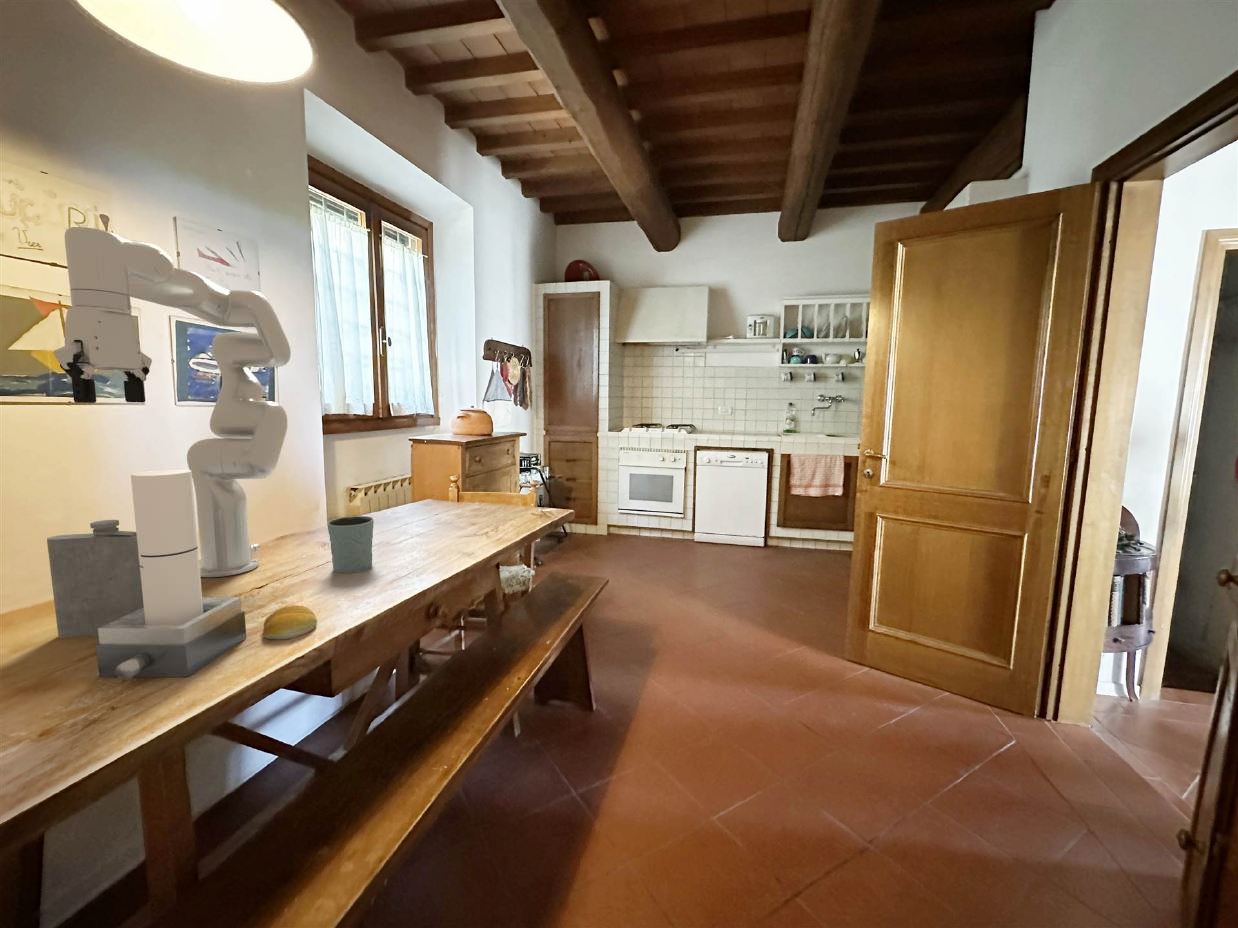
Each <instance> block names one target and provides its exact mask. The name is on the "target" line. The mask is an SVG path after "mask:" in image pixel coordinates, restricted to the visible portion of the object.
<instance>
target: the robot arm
mask: <svg viewBox="0 0 1238 928" xmlns="http://www.w3.org/2000/svg"><path fill="white" fill-rule="evenodd" d="M64 244H65V245H64V246H65V254H66V264H67V273H68V274H67V275H68V282H69V290H70V291H69V292H70V302H71V308H70V307H69V308H67V311H66V316H65V322H64V323H65V324H64V345H63V346H62V347H60V348H57V349H56V350H54V351H53V355H54V357H55V358H56V360H57V362H58V363H59V367H60V368H61V369H62V370H63V371H64V373H66V377H67V379H70V380H71V386H72V387H71V388H72V395H73V396H72V397H73V402H75V404H76V403H77V404H78V403H79V404H95V403H96V402H97V393H96V382H95V379H94V378H92V379H91V377H92V376H93V375H94V373H95V371H96V370H105V371H106V370H107V371H115V370H119V371H120V373H121V374H122V375H123V377H125V379H126V380H123V389H124V390H123V391H124V398H125V400H124V401H125V402H126V403H143V404H144V403H145V402H146V393H145V383H144V382H146V381H147V380H148V379H147V376H148V375H149V373H150V368H151V366H152V363H153V359H152V358H151V357H149V356H148V355H146V354H145V353H143V352H142V351H141V343H140V340H139V339H140V338H139V334H138V329H137V325H136V321H135V319H134V316H133V314H132V303H131V298H134V299H137V300H141V301H146V302H150V303H154V304H157V305H160V306H164V307H168V308H174V309H179V310H181V311H183V312H186V313H188V314H190V315H193V316H195V317H196V318H199V319H201V320H204V321H206V322H208V323H210V324H213V325H215V326H218V327H219V326H220V327H229V328H231V327H234V328H240V327H241V328H255V329H256V331H257V332H250V331H249V332H248V331H247V332H246V331H243V332H242V331H230V332H229V331H228V332H221V333H219V334H217V335H216V336H214V337H213V340H212V343H211V352H212V355H213V357H214V359H215V362H216V365H217V367H218V370H219V372H220V375H221V378H222V385H221V388H220V389H221V390H220V392H219V394H218V396H217V400H216V402H215V404H214V407H213V410H212V413H211V415H210V419H209V428H210V431H211V433H213V434H214V435H215V436H217V438H215V437H214V438H205V439H201V440H198V441H196V442H194V443H193V444H191V446H190V447H189V449H188V450H187V454H186V461H187V466H188V470H191V473H192V484H193V488H194V492H195V493H194V494H195V501H196V514H197V526H198V539H199V540H198V541H199V549H200V551H199V552H200V563H201V564H199V567H200V578H220V577H221V578H222V577H228V576H235V575H239V574H243V573H246V572H250V571H253V570H254V569H256V568H257V567H258V566H259V565H260V564H259V559H257V558H255V557H253V556H252V555H253V554H254V553H256V552H258V551H260V549H261V545H260V544H259V543H254V544H251V545H250V534H249V533H250V532H249V531H250V530H249V519H248V501H247V495H246V492H245V490H244V488H243V487H242V486H241V484H240V482H239V481H237V480H261V479H266V478H269V476H271V475H272V474H273V473H274V471H275V470H276V466H277V464H278V462H279V457H280V455H281V451H282V447H283V445H284V442H285V437H286V434H287V430H288V415H287V412H286V409H284V407H283V406H282V405H281V404H279V403H277V402H275V401H270V400H262V398H263V395H264V389H263V386H262V383H261V382H260V381H259V379H258V378H257V377H256V376H255V375H254V374H253V373H252V371H251V369H250V367H252V368H255V367H256V368H280V367H283V366H286V365H287V364H288V363H289V362H290V360H291V346H290V343H289V340H288V337H287V336H286V334H285V331H284V329H283V327H282V325H281V323H280V320H279V317H278V316H277V314H276V312H275V310H274V308H273V306H272V305H271V303H270V302H269V300H268V299H267V298H266V297H265V296H264V295H263V294H262V293H261V292H258V291H255V290H239V289H237V290H236V289H226V288H223V287H222V286H220V285H218V284H216V283H214V282H213V281H211V280H209V279H207V278H206V277H204V276H202V275H200V274H199V273H197V272H193V271H191V270H188V269H183V268H176V267H174V263H173V261H172V258H171V257H170V256H169V255H168V254H167V252H165V251H164V249H162V248H160V247H158V246H157V245H154V244H152V243H149V242H146V241H138V240H133V239H129V238H124V237H120V236H119V235H118V234H116V233H114V232H111V231H108V230H104V229H99V228H95V227H93V228H92V227H87V226H73V227H69V228H67V229H66V230H65V232H64ZM218 437H220V438H218Z"/></svg>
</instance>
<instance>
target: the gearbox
mask: <svg viewBox="0 0 1238 928" xmlns="http://www.w3.org/2000/svg"><path fill="white" fill-rule="evenodd" d="M202 602H203V614H202V615H200V616H198V617H196V618H194V619H192V620H190V621H189V622H187V623H185V624H183V625H146V624H145V614H144V608H141V609H139V610H137V611H135V612H133V613H130V614H128V615H126V616H124V617H122V618H119V619H117V620H115V621H113V622H111V623H108V624H106V625H104V626H102V627H100V628H98V634H99V635H98V641H99V642H98V643H97V644H96V645H95V650H96V659H97V660H96V661H97V670H98V677H99V678H119V679H121V680H124V681H125V680H130V679H131V678H189V677H191V676H192V675H194V674H195V673H196V672H198V671H200V670H202V669H203V668H205V667H206V666H207V665H209V664H210V663H212V662H213V661H215V660H216V659H217V658H220V657H221V656H222V655H224V654H225V653H226V652H228V651H230V650H231V649H233V648H234V647H236V646H237V645H239V644H240V643H241V642H243V641H244V640H246V639H247V629H246V628H247V627H246V616H245V613H246V612H245V610H242V600H241V597H237V596H236V597H235V596H234V597H232V596H231V597H228V596H227V597H226V596H225V597H222V596H221V597H220V596H219V597H217V596H216V597H215V596H214V597H212V596H208V597H205V596H202Z"/></svg>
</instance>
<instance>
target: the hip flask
mask: <svg viewBox="0 0 1238 928" xmlns="http://www.w3.org/2000/svg"><path fill="white" fill-rule="evenodd" d="M89 525H90V529H93V530H92V533H79V534H78V533H77V534H63V535H62V534H61V535H54V536H50V537H47V538H46V544H47V551H48V560H49V562H48V563H49V568H50V577H51V586H52V594H53V601H54V613H55V619H56V626H57V627H56V628H57V637H58V638H59V639H62V640H63V639H64V638H65V639H71V638H72V639H73V638H82V637H96V636H98V637H99V634H98V628H100V627H102V626H104V625H106V624H108V623H111V622H113V621H115V620H117V619H119V618H122V617H124V616H126V615H128V614H130V613H133V612H135V611H137V610H139V609H141V608H144V604H143V594H142V584H141V573H140V563H139V553H138V543H137V533H136V531H128V530H119V529H120V528H119V527H118V526H120V520H119V519H104V520H96V521H92V522H90V524H89Z"/></svg>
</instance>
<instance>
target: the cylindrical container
mask: <svg viewBox="0 0 1238 928" xmlns="http://www.w3.org/2000/svg"><path fill="white" fill-rule="evenodd" d="M130 480H131V481H130V482H131V489H132V490H131V491H132V500H133V501H132V502H133V512H134V520H135V532H136V533H137V543H138V553H139V563H140V573H141V584H142V594H143V604H144V614H145V624H146V625H183V624H185V623H187V622H189V621H190V620H192V619H194V618H196V617H198V616H200V615H202V614H203V602H202V597H203V593H202V592H203V591H202V582H201V581H202V579H201V578H202V577H200V567H199V565H200V560H199V559H200V558H199V557H200V556H199V555H200V554H199V546H198V545H199V544H198V532H197V523H196V520H197V519H196V509H195V508H196V507H195V499H194V483H193V479H192V473H191V470H189V469H186V468H184V469H183V468H180V469H178V468H177V469H176V468H175V469H155V470H154V469H153V470H144V471H136V472H132V473H130Z"/></svg>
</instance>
